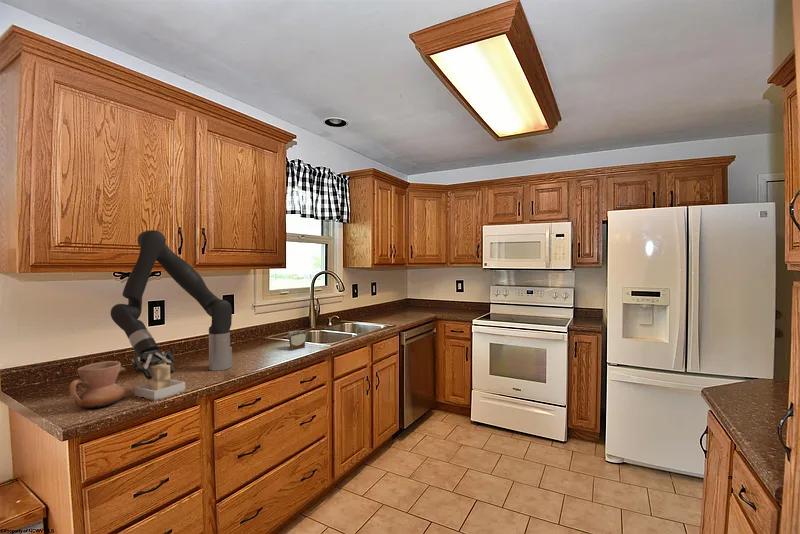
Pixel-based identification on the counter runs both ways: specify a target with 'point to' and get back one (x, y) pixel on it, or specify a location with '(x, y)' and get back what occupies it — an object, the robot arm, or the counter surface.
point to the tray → (162, 393)
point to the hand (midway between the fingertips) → (162, 375)
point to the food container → (297, 339)
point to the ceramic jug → (98, 385)
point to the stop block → (160, 376)
